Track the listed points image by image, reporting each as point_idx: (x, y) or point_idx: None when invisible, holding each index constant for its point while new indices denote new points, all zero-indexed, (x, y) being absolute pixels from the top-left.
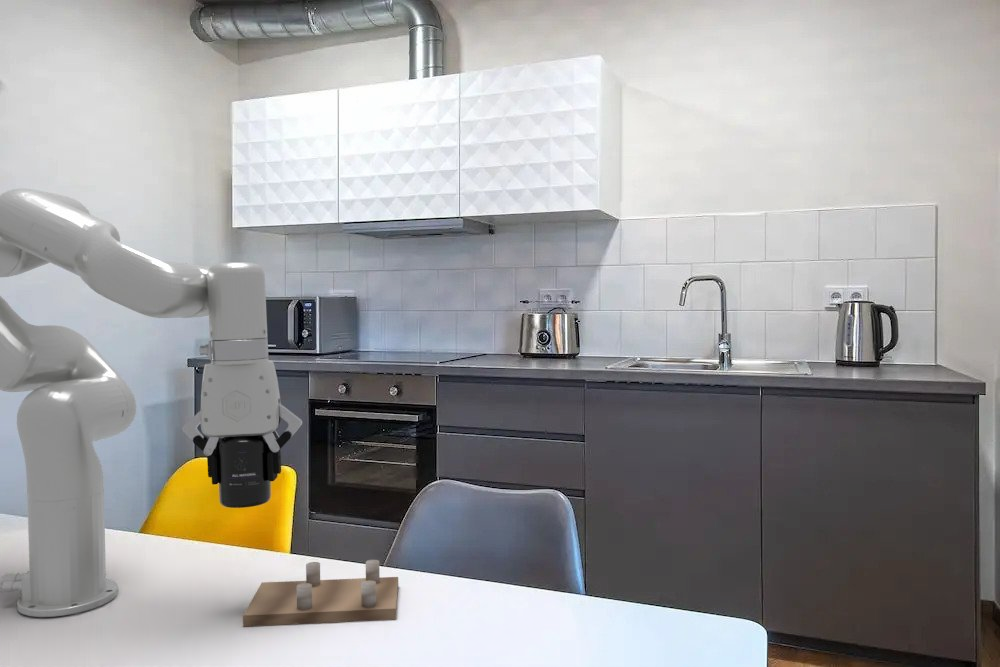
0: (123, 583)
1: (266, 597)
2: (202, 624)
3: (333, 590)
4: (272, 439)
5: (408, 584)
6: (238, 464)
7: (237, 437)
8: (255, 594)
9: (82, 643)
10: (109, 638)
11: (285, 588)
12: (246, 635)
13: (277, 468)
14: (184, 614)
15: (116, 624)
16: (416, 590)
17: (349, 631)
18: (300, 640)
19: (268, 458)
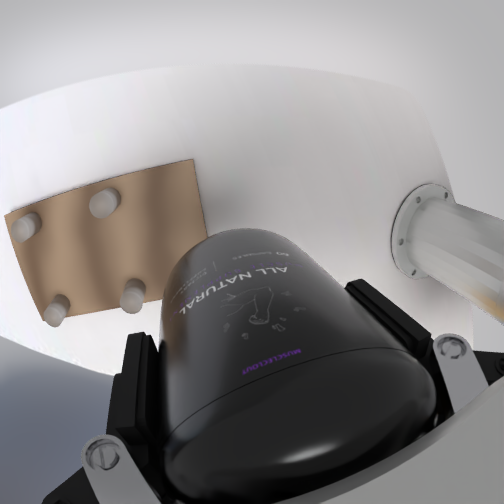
0: (394, 284)
1: (184, 231)
2: (256, 164)
3: (96, 268)
4: (110, 498)
5: (41, 321)
6: (271, 302)
7: (359, 463)
8: None
9: (373, 114)
10: (352, 124)
11: (170, 269)
12: (176, 132)
13: (119, 384)
14: (295, 197)
15: (362, 165)
16: (25, 303)
17: (47, 166)
18: (97, 127)
19: (134, 401)
